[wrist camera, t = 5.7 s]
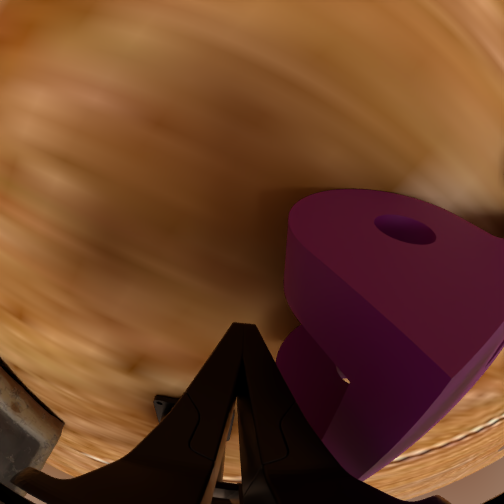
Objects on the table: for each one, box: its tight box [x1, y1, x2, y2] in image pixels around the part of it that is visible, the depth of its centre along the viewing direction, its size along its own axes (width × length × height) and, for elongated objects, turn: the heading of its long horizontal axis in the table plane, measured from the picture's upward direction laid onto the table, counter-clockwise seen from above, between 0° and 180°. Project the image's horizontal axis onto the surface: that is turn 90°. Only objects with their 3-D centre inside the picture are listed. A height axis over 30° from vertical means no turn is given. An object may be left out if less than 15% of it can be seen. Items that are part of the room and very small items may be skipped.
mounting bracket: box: [276, 189, 504, 481], centre depth 13 cm, size 9×8×18 cm
